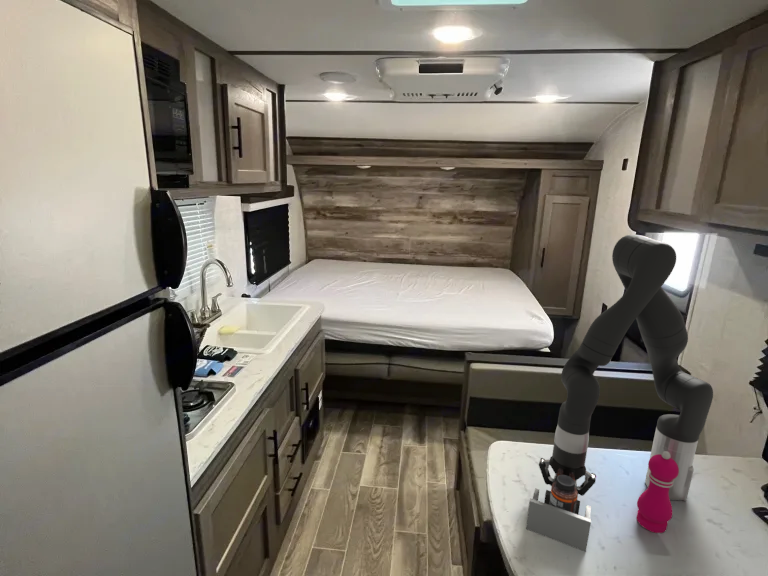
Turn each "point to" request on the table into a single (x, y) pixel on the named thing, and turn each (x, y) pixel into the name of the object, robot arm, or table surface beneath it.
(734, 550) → the table surface
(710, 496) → the table surface
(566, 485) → the supplement bottle
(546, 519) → the grey u-shaped bracket
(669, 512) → the pepper mill
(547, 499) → the scraper
